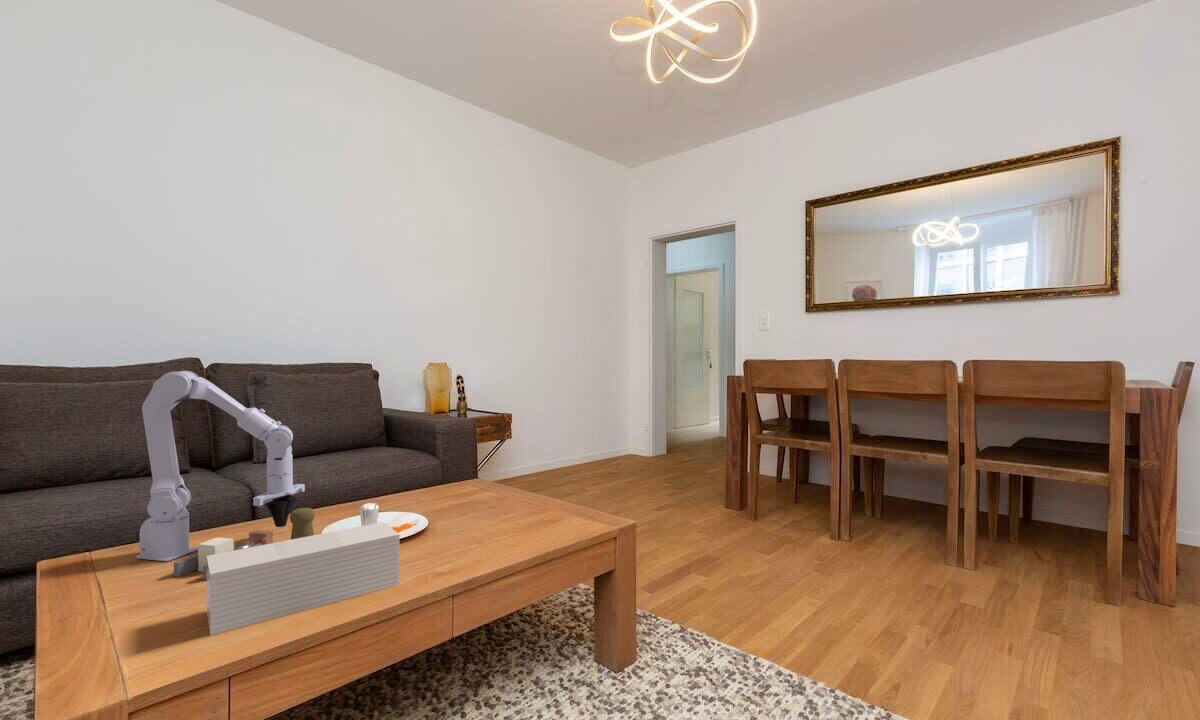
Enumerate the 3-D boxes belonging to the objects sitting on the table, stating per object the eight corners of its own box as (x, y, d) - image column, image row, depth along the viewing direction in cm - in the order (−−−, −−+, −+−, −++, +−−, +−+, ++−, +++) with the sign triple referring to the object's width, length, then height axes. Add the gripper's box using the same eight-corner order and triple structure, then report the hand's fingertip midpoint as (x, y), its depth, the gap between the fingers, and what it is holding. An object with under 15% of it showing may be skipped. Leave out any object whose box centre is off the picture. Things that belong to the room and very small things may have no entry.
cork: (304, 560, 125) (303, 513, 125) (282, 558, 126) (281, 511, 126) (322, 550, 131) (322, 506, 131) (301, 549, 132) (300, 504, 132)
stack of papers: (383, 569, 120) (383, 521, 120) (399, 585, 112) (399, 534, 112) (206, 613, 100) (206, 555, 100) (210, 636, 92) (209, 573, 92)
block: (198, 571, 119) (198, 544, 119) (217, 563, 124) (217, 537, 124) (215, 572, 118) (214, 545, 118) (233, 564, 123) (233, 538, 123)
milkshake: (368, 543, 136) (368, 504, 136) (356, 539, 139) (355, 501, 139) (384, 538, 140) (384, 500, 140) (371, 534, 143) (371, 497, 143)
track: (173, 576, 116) (173, 562, 116) (231, 553, 130) (231, 540, 130) (207, 580, 114) (207, 566, 114) (262, 556, 128) (262, 543, 128)
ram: (217, 560, 124) (217, 543, 124) (254, 545, 134) (254, 529, 134) (238, 562, 123) (238, 545, 123) (274, 547, 133) (274, 531, 133)
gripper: (269, 480, 130) (270, 536, 130) (314, 468, 144) (314, 518, 145) (245, 479, 132) (246, 534, 132) (291, 467, 146) (292, 516, 146)
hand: (280, 526), depth 138 cm, fingers closed
